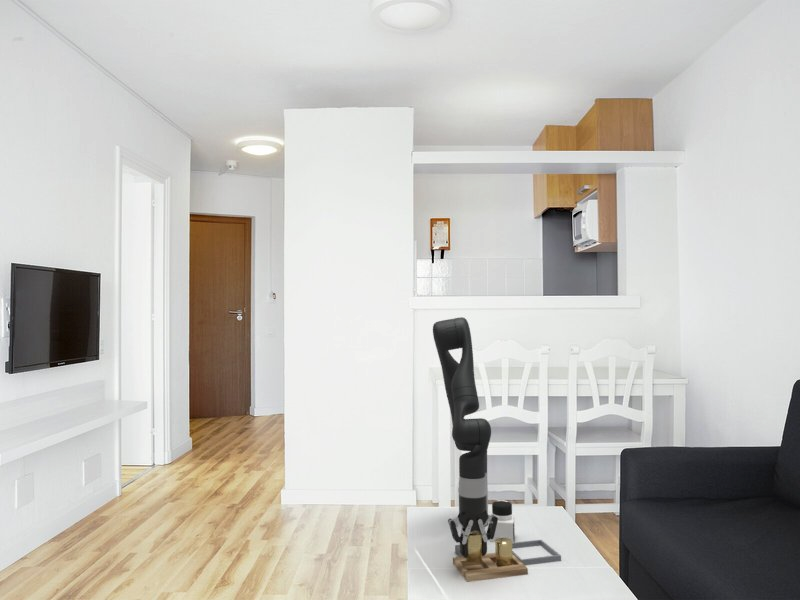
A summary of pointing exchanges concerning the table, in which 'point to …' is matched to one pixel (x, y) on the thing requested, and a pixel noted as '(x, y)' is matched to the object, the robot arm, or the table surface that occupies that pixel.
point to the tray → (537, 560)
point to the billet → (474, 547)
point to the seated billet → (503, 552)
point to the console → (458, 550)
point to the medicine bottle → (503, 520)
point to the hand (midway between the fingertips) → (473, 555)
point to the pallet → (488, 568)
